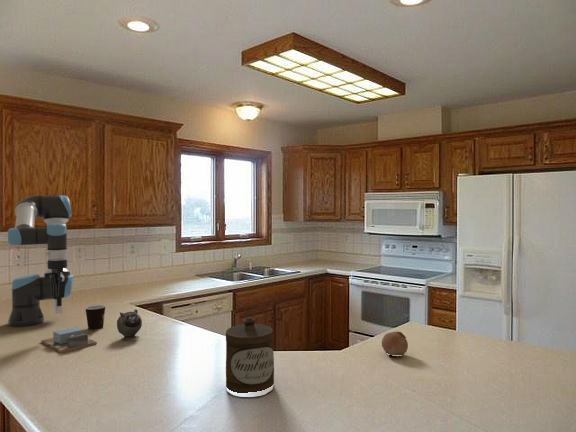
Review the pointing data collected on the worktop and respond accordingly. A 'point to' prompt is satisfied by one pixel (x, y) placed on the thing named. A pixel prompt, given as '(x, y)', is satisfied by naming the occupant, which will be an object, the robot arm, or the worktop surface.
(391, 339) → the brown round lump
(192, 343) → the worktop surface
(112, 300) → the worktop surface
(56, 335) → the block
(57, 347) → the base
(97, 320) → the coffee mug
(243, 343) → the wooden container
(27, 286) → the robot arm
